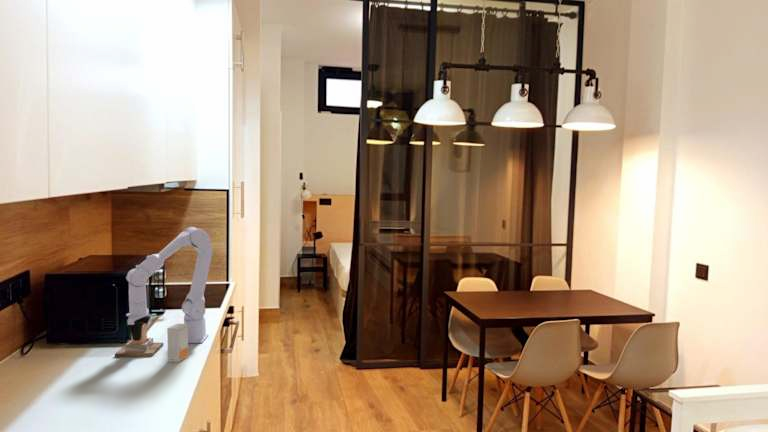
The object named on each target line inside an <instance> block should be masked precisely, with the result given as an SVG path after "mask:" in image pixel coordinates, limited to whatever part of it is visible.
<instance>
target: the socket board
mask: <svg viewBox="0 0 768 432" xmlns="http://www.w3.org/2000/svg"><path fill="white" fill-rule="evenodd" d="M163 346H164V342H154V337H147V342H146V343H145V344H131V340H129V341H127V343H125V344H124V345H123V347H121V348H120V349H118V351H116V352H115V353H114V358H132V357H133V358H134V357H136V358H137V357H140V358H141V357H154V356H155V355H156V353H158V351H160V350H161V349H162V348H163Z"/></svg>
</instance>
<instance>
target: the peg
mask: <svg viewBox="0 0 768 432" xmlns="http://www.w3.org/2000/svg"><path fill="white" fill-rule="evenodd" d="M147 333H148V330H147V328H146V323H144V324H143V326H142V330H141V338H140V340H139V341H134V340H133V337H132V334H131V333H130V341H131V344H145V343H146V342H147V338H148V335H147Z"/></svg>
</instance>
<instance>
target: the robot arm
mask: <svg viewBox="0 0 768 432" xmlns="http://www.w3.org/2000/svg"><path fill="white" fill-rule="evenodd" d="M210 239H211V237H210V235H209V234H208V232H206V231H205V230H204V229H203V228H198V227H194V226H190V227H187V228H186V229H184V231H182V232H180V233H179V234H178V235H177V236H176V237H175V238H174V239H173V240H171V242H169V243H168V244H167V245H166V246H165V247H164V248H163V249H162V250H160V251H159V252H158V253H153V254H151V255H147V256H146V257H145V258H146V259H144V260H143V261H142V262H141V263H140V264H136V265H135V268H132V269H130V270H129V271H128V272H127V275H126V276H125V280H126V281H127V282H128V307H129V312H128V313H126V315H125V316H126V317H128V319H127V320H126V327H127V328H128V329H129V331H130V335H131V334H132V337H133V340H134V341H139V340H140V338H141V330H142V326H143V324H144V323H146V328H147V327H148V324H149V321H150V319H151V315H148V314H149V313H150V312H149V311H150V310H149V308H148V307H147V306H148V305H147V304H148V303H147V302H148V301H147V288H146V286H147V285H146V284H147V282H148V280H149V278H150V277H152V275H154V274H155V273H157V271H159V270H160V269H161V268H162V267H164V263H165V261H166V260H167V259H168V258H169V257H170V256H172V255H173V254H175V253H176V252H177V251H178V250H180V249H181V248H184V247H192V246H193V248H194V249H195V251H197V257H196V262H195V266H194V270H193V271H194V272H193V275H192V280H191V286H190V288H189V289H190V290H189V293H187V295H186V298H185V300H184V301H183V303H182V305H181V310H182V312H183V313H184V317H183V324H187V328H188V344H203V342H204V341H205V340H206V339H207V337H209V334H208V333H206V332H207V329H206V328H207V327H206V326H207V325H206V318H205V317H204V316H205V314H206V306H205V303H206V299H205V291H206V284H207V280H208V275H209V271H210V267H211V262H212V256H213V253H214V249H213V245H212V242H211V240H210Z"/></svg>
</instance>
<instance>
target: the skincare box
mask: <svg viewBox="0 0 768 432" xmlns="http://www.w3.org/2000/svg"><path fill="white" fill-rule="evenodd" d="M166 331H167V362H169V363H180V362H181V361H183V360H185V359H186V358H188V357H189V343H188V328H187V324H184V323H179V322H178V323H175V324H173V325H171V326H169V327H168V328H167V330H166Z"/></svg>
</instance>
